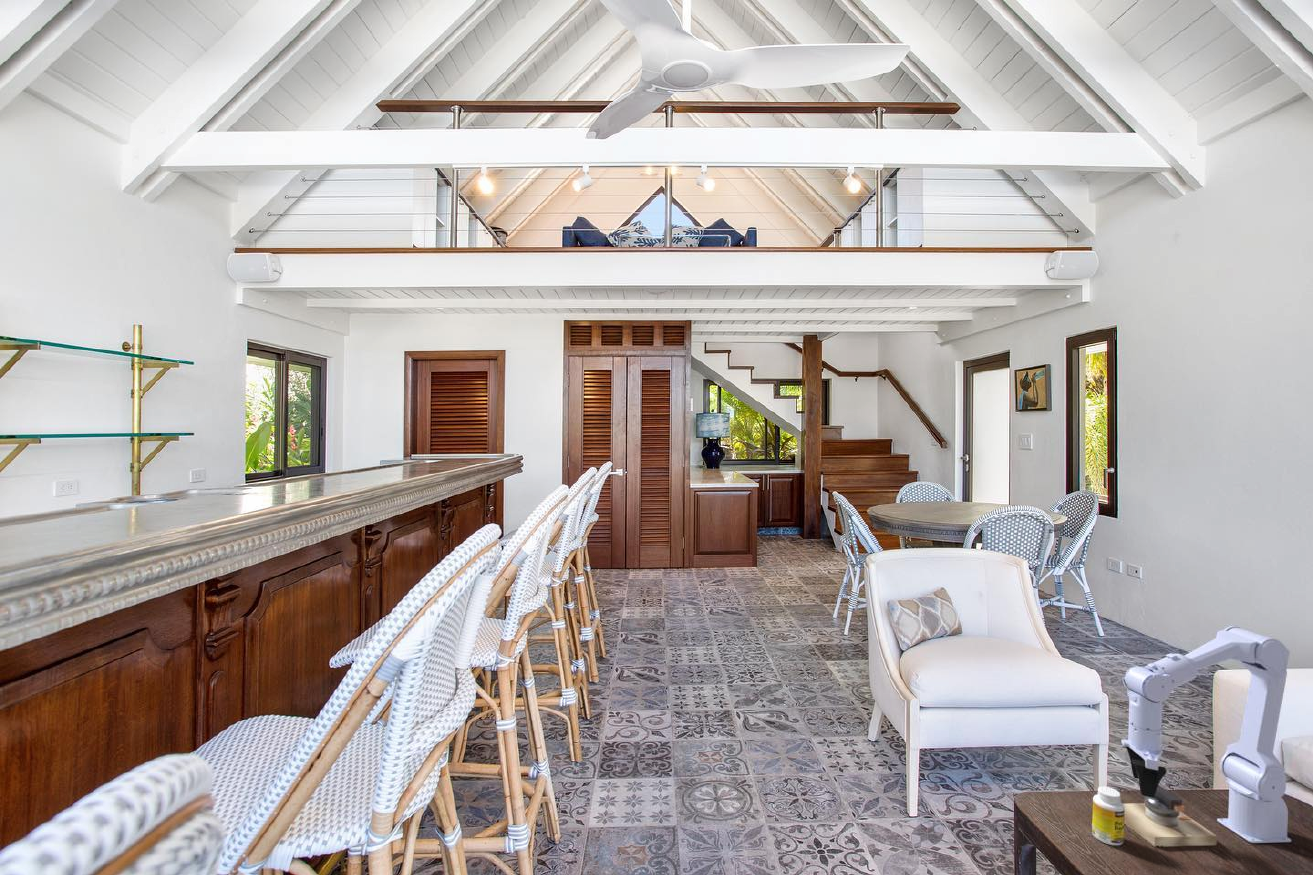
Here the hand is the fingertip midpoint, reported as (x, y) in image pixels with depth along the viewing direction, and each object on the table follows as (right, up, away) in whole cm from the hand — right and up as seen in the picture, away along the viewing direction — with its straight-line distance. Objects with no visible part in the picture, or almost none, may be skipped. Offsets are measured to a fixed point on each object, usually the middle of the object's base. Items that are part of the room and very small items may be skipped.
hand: (1143, 786), depth 139 cm
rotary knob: (+5, -6, +1) cm, 8 cm away
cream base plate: (+5, -10, +2) cm, 12 cm away
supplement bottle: (-9, -10, -2) cm, 14 cm away
